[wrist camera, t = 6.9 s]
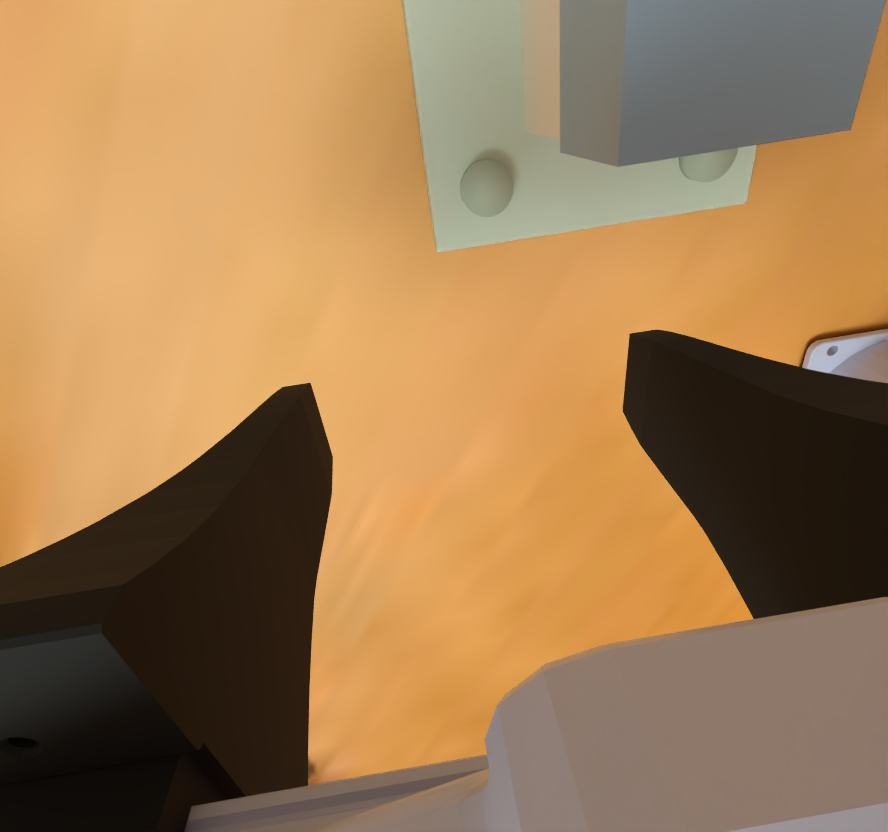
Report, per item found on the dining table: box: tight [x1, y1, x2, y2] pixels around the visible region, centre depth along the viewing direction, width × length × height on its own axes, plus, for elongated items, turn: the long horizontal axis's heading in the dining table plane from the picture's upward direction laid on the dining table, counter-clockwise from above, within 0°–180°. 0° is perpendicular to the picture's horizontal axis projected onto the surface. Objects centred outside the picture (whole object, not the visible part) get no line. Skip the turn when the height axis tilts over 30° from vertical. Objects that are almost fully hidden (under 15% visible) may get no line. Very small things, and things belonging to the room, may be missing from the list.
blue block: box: [560, 0, 886, 167], centre depth 11 cm, size 5×5×4 cm
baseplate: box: [402, 0, 757, 253], centre depth 16 cm, size 12×12×2 cm
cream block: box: [520, 0, 560, 139], centre depth 14 cm, size 5×5×4 cm
